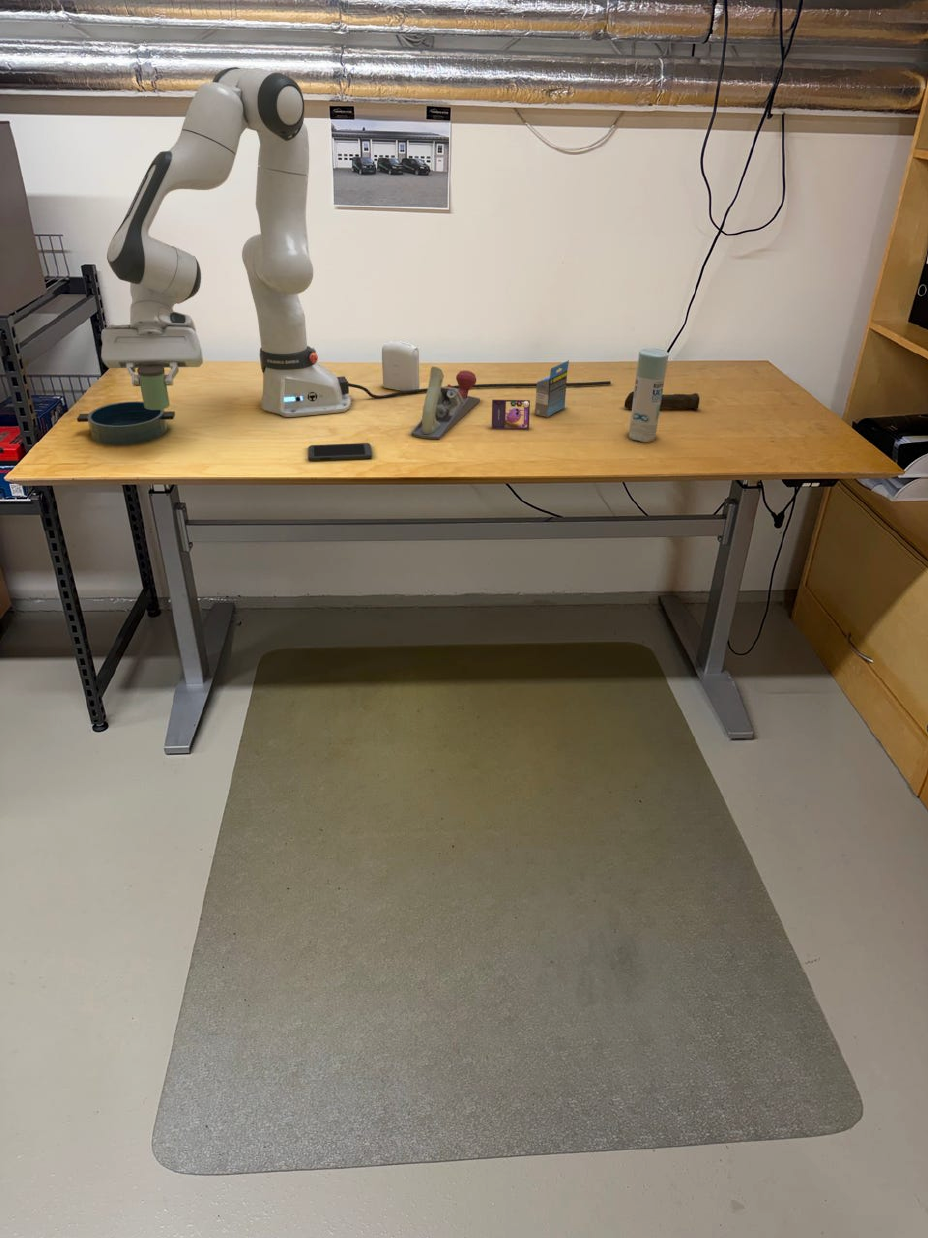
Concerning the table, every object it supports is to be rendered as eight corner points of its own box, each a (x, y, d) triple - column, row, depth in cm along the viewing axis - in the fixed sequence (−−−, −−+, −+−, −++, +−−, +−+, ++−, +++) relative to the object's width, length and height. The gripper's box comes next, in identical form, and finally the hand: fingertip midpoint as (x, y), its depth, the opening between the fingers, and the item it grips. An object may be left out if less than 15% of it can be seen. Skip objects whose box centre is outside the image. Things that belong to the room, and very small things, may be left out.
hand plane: (409, 436, 201) (409, 372, 193) (456, 395, 226) (457, 337, 217) (437, 440, 199) (438, 376, 191) (481, 399, 224) (483, 341, 215)
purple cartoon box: (492, 399, 204) (530, 400, 204) (491, 399, 209) (528, 400, 209) (491, 428, 205) (529, 429, 206) (490, 428, 210) (527, 428, 211)
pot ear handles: (175, 414, 200) (174, 411, 200) (173, 419, 197) (172, 415, 197) (80, 417, 197) (79, 413, 197) (77, 422, 195) (76, 418, 194)
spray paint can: (649, 444, 200) (662, 358, 189) (623, 438, 203) (634, 353, 192) (659, 436, 205) (672, 351, 194) (634, 430, 208) (645, 346, 197)
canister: (171, 401, 187) (165, 364, 182) (168, 410, 182) (162, 372, 178) (145, 401, 186) (139, 364, 181) (141, 410, 181) (134, 372, 177)
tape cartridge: (552, 405, 221) (555, 356, 215) (565, 408, 219) (569, 359, 213) (533, 414, 215) (537, 365, 208) (547, 418, 213) (551, 368, 207)
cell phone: (372, 458, 189) (372, 455, 189) (308, 461, 187) (308, 457, 187) (370, 445, 195) (370, 442, 195) (308, 448, 193) (308, 444, 193)
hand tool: (694, 406, 223) (697, 388, 221) (698, 411, 220) (701, 393, 217) (622, 405, 222) (624, 388, 220) (625, 411, 219) (627, 393, 216)
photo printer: (380, 388, 229) (378, 341, 223) (388, 383, 233) (387, 337, 226) (414, 394, 226) (413, 346, 219) (421, 389, 229) (421, 342, 222)
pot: (171, 418, 207) (168, 400, 205) (161, 444, 193) (158, 425, 191) (100, 420, 205) (96, 402, 203) (84, 447, 191) (79, 427, 189)
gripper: (97, 316, 179) (96, 378, 176) (198, 316, 182) (199, 376, 179) (105, 332, 185) (105, 392, 182) (203, 332, 188) (204, 390, 185)
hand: (153, 384), depth 181 cm, fingers closed on canister, 5 cm apart
